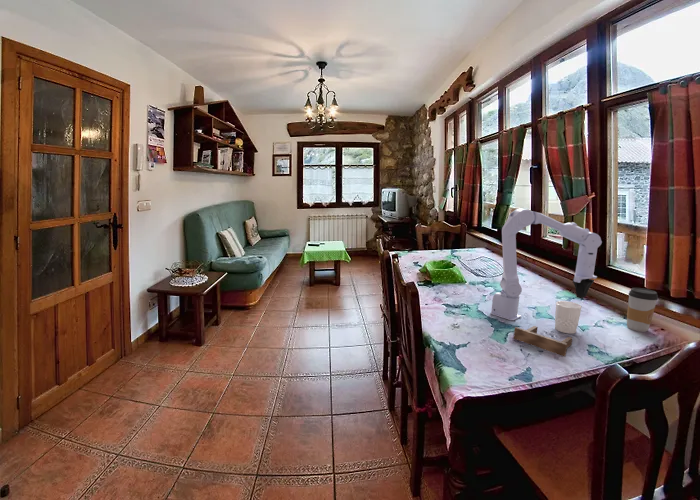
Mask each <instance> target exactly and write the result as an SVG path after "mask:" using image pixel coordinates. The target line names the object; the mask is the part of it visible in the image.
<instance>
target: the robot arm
mask: <svg viewBox="0 0 700 500" xmlns="http://www.w3.org/2000/svg"><path fill="white" fill-rule="evenodd" d="M538 224H540V225H541V224H542V225H543V226H546V227H549V228H551V229H553V230H556V231H558V232H559V235H560V237H563V238H565V239H568V241H572V242H574V243H576V244H578V245H579V246H578V253H577V260H576V265H575V273H574V277H573V279H572V283H573V285H574V288H575V295H576V296H575V297H576V298H578V299H584V298H586V297H587V295H588V291H589V289H590V288H591V286H592V284H594V282H595V279H597V278H598V276H597V275H595V274H594V272H595V268H596V267H595V266H596V262H597V261H596V259H597V253H598V248H599V247H601V245H602V243H603V241H602V238H601V236H600V235H599V234H598V233H595V232H592V231H590V229H589V228H583V227H580V226H579V225H578V224H577V223H576V222H573V221H572V222H566V223H563V222H561V221H559V220H556V219H555V218H553V217H551V216H548V215H545V214H543V213H541V212H537V211H534V210H533V211H532V210H530V209H527V208H523V207H521V208H516V209H514V210H513V211H512V212H510V213H509V215H508V217H507V219H506V221H505V222H504V225H503V226H502V228H501V243H502V244H501V245H502V269H503V272H502V274H501V280H500V283H499V286H500V288H501V291H500V292H498V291H497V292H495V293H494V294H493V297H492V303H491V312H490V313H489V314H490V315H493V316H497V317H499V318H502V319H506V320H509V321H512V322H513V321H514V320H515V321H516V320H517V319H519V318H521V317H522V315H521V314H519V304H520V297H521V296H520V295H521V294H522V290H523V289H522V286H521V284H520V281H519V280H520V279H519V276H518V263H517V261H518V260H517V259H518V258H517V239H516V238H517V234H518V233H519V232H520V231H521V230H522V229H524V228H527V227H529V226H530V225H538Z"/></svg>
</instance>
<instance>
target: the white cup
mask: <svg viewBox="0 0 700 500" xmlns="http://www.w3.org/2000/svg"><path fill="white" fill-rule="evenodd" d="M581 311H582V305H581V304H578V303H576V302H573V301H567V300H559V301H556V302H555V314H554V315H555V316H554V317H555V318H554V319H555V320H554V329H555V330H556V331H558V332H561V333H565V334H568V335H569V334H575V333H576V332H577V328H578V325H579V322H580V318H581V317H580V316H581Z"/></svg>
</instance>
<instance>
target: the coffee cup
mask: <svg viewBox="0 0 700 500" xmlns="http://www.w3.org/2000/svg"><path fill="white" fill-rule="evenodd" d="M658 297H659V296H658V292H657V291H655V290H651V289H649V288H641V287H632V288H631V289H630V290H629V292H628V302H627V313H626V326H627V327H626V328H628V329H629V330H632V331H636V332H642V333H646V332H648V331H649V330H650V325H651V323H652V319H653V316H654V312H655V308H656V304H657V301H658V300H659V298H658Z"/></svg>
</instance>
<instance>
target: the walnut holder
mask: <svg viewBox="0 0 700 500" xmlns="http://www.w3.org/2000/svg"><path fill="white" fill-rule="evenodd" d="M538 328H539V327H538V326H536V325H533V326H532V327H529V328H527V329H524V328H520V327H517V326H515V327H514V330H513V339H514V340H517V341H519V342H523V343H525V344H528V345H530V346H533V347H535V348H539V349H542V350H544V351H546V352H547V351H548V352H550V353H553V354H555V355H557V356H558V355H559V356H562V357H566V356H567V350H568V349H567V348H569V347H571V346H572V344H573V337H572V336H567V337H566V338H564V339H563V340H561V341H560V340H557V339H554V338H551V337H549V336H545V335H542V334H539V333H538Z"/></svg>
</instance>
